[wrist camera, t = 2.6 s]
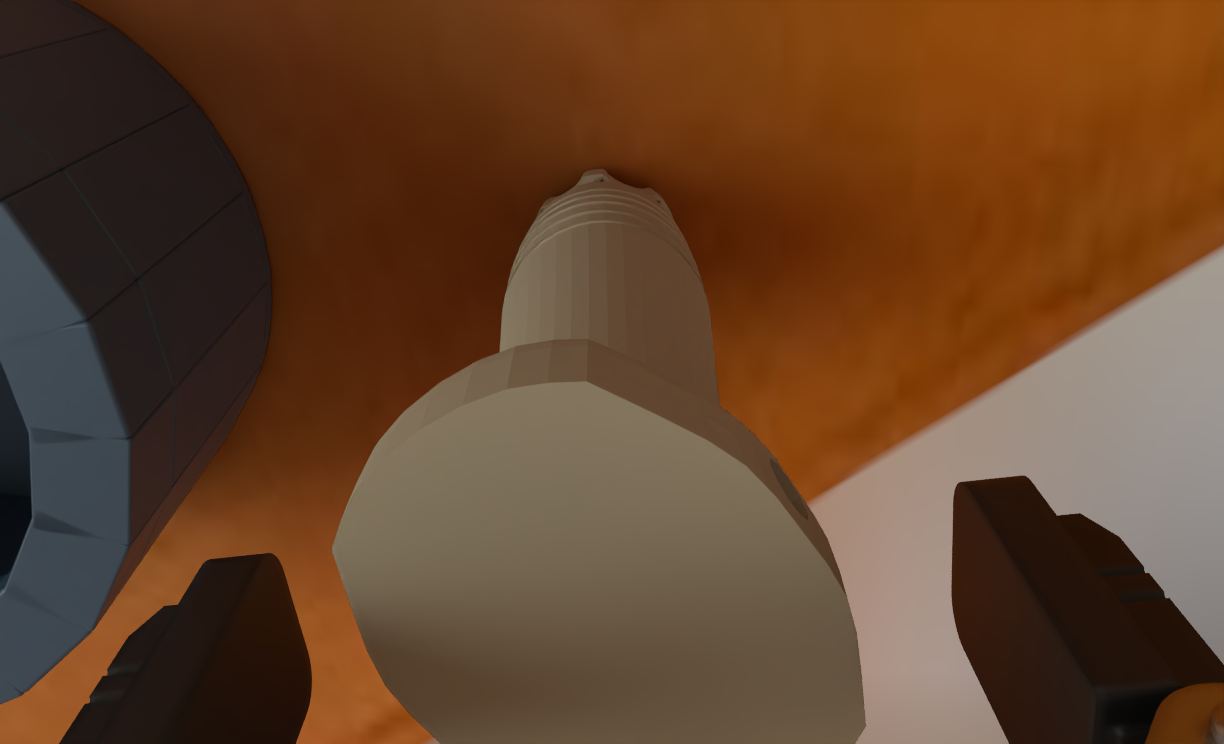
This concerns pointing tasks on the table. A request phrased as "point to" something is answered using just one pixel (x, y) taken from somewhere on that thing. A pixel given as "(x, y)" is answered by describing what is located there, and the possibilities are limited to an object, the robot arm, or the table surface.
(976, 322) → the table surface
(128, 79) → the jar
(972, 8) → the table surface
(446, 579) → the handle
